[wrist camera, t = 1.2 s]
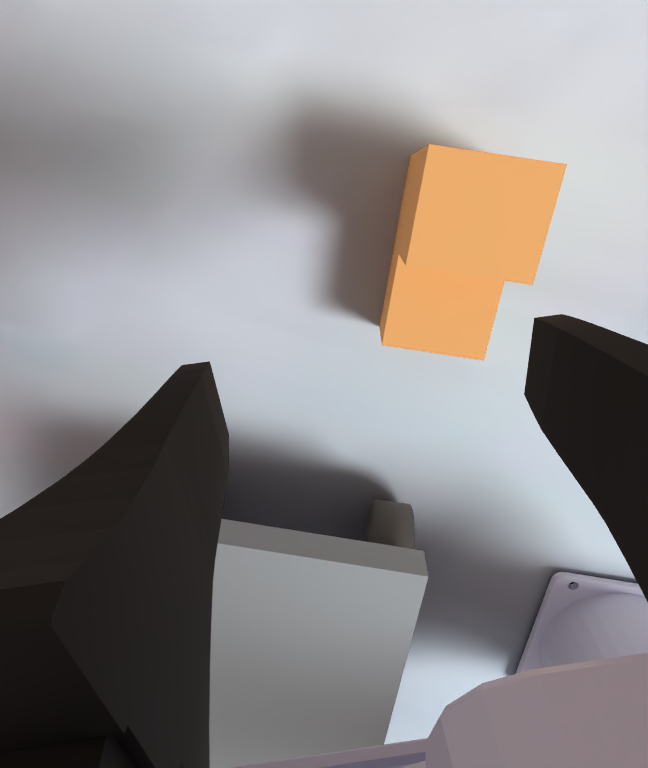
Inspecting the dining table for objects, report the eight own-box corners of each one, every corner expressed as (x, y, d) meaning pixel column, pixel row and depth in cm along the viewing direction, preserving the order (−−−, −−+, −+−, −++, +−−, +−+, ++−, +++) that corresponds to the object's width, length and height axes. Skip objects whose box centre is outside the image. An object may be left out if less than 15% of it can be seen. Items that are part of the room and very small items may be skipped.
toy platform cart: (412, 484, 26) (454, 721, 14) (350, 746, 33) (345, 1047, 21) (172, 447, 26) (24, 651, 14) (161, 715, 33) (55, 998, 21)
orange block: (510, 170, 21) (566, 164, 15) (468, 339, 23) (503, 388, 18) (410, 155, 21) (429, 143, 15) (379, 325, 23) (385, 370, 18)
